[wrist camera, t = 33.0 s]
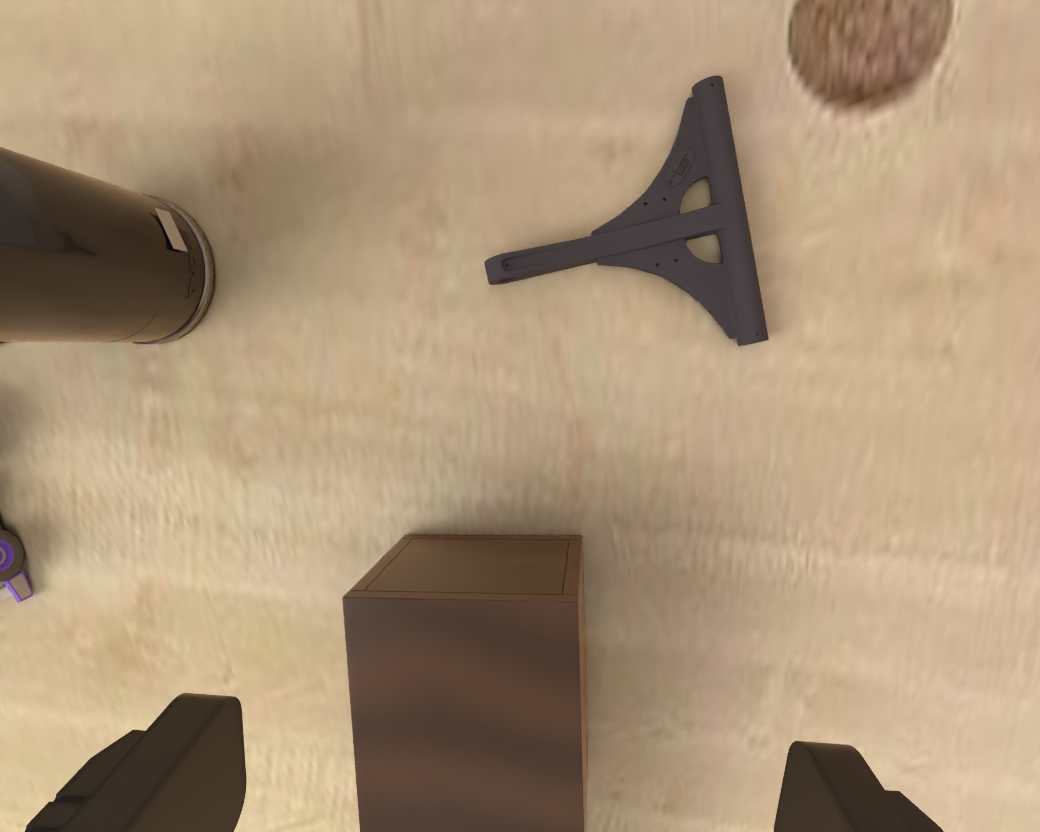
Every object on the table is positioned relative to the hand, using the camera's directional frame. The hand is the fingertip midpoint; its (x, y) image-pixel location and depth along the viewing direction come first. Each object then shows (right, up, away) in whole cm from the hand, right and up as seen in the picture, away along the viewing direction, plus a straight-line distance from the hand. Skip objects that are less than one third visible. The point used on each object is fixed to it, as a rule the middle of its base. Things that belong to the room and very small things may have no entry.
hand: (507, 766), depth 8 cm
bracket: (+6, +15, +26) cm, 30 cm away
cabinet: (-1, -10, +30) cm, 31 cm away
